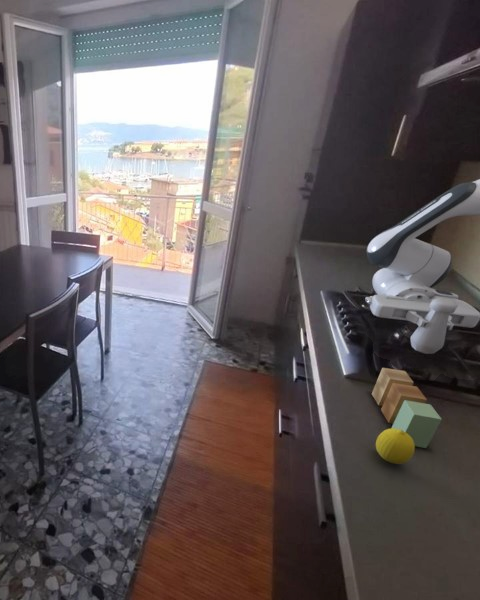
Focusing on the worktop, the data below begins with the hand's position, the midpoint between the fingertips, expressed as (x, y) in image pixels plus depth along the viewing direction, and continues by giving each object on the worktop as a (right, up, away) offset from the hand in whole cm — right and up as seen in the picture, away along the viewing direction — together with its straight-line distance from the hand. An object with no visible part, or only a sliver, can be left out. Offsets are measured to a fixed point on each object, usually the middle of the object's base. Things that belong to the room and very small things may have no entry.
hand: (437, 325), depth 82 cm
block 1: (-8, -19, +5) cm, 21 cm away
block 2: (-10, -21, 0) cm, 23 cm away
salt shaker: (+1, -6, +4) cm, 7 cm away
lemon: (-20, -27, -10) cm, 35 cm away
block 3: (-12, -24, -5) cm, 27 cm away
